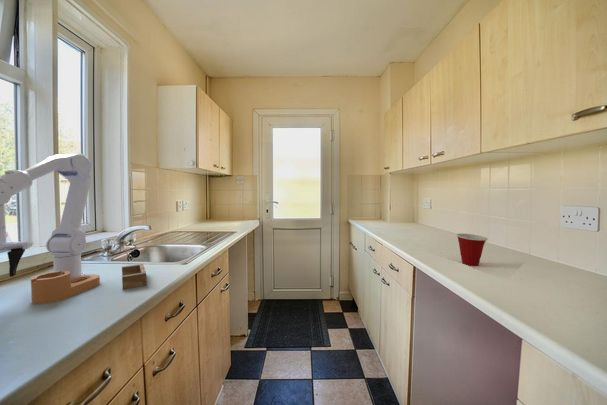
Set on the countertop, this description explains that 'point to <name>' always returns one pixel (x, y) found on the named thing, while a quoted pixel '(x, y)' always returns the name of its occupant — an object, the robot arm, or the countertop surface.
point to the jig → (133, 276)
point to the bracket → (60, 286)
